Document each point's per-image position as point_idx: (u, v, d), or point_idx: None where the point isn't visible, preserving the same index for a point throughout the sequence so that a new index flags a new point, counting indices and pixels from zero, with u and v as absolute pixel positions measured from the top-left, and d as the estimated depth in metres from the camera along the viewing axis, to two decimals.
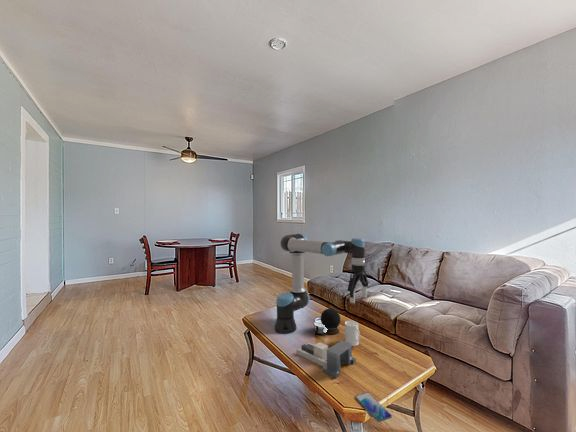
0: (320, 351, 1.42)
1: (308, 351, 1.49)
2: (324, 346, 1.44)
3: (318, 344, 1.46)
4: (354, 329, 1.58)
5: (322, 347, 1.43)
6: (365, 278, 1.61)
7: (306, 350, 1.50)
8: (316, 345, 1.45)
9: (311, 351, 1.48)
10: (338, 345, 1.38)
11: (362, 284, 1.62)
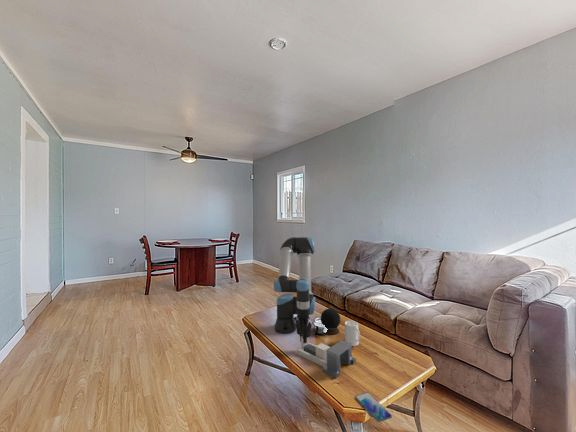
0: (322, 352, 1.41)
1: (310, 352, 1.48)
2: (326, 347, 1.43)
3: (320, 345, 1.45)
4: (354, 329, 1.58)
5: (324, 348, 1.42)
6: (307, 329, 1.50)
7: (308, 351, 1.49)
8: (318, 346, 1.44)
9: (313, 352, 1.47)
10: (338, 345, 1.38)
11: None
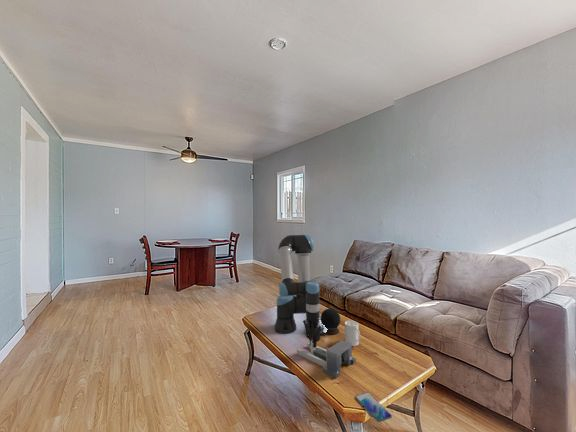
0: None
1: (321, 357, 1.43)
2: None
3: None
4: (354, 329, 1.58)
5: None
6: (316, 332, 1.45)
7: (318, 355, 1.45)
8: None
9: (323, 357, 1.42)
10: (338, 345, 1.38)
11: None
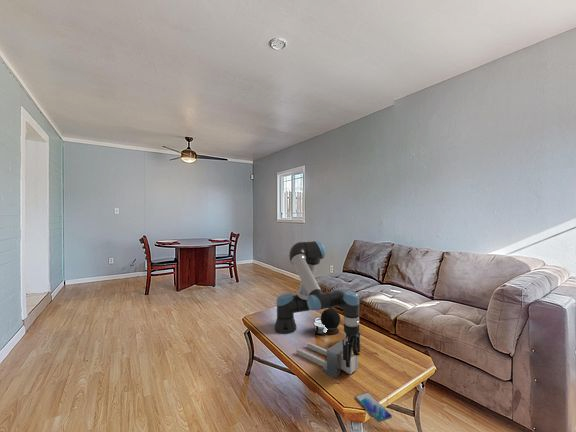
0: None
1: None
2: (352, 356, 1.32)
3: None
4: None
5: None
6: (358, 342, 1.34)
7: None
8: None
9: None
10: (338, 345, 1.38)
11: (353, 351, 1.34)
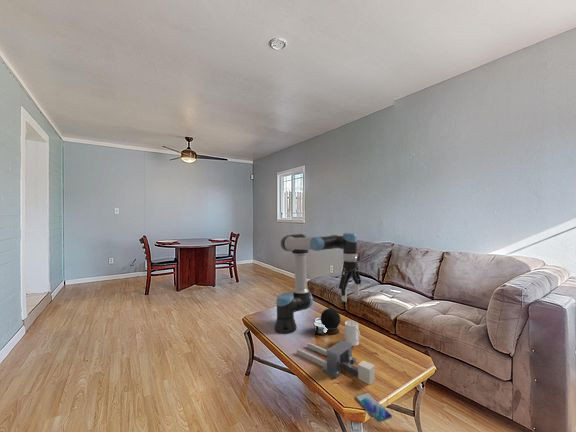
0: (367, 371, 1.23)
1: (351, 371, 1.31)
2: (370, 366, 1.25)
3: (363, 363, 1.28)
4: (354, 329, 1.58)
5: (368, 367, 1.24)
6: (358, 275, 1.53)
7: (348, 369, 1.32)
8: (361, 364, 1.27)
9: (354, 370, 1.29)
10: (338, 345, 1.38)
11: (354, 281, 1.54)
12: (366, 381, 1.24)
